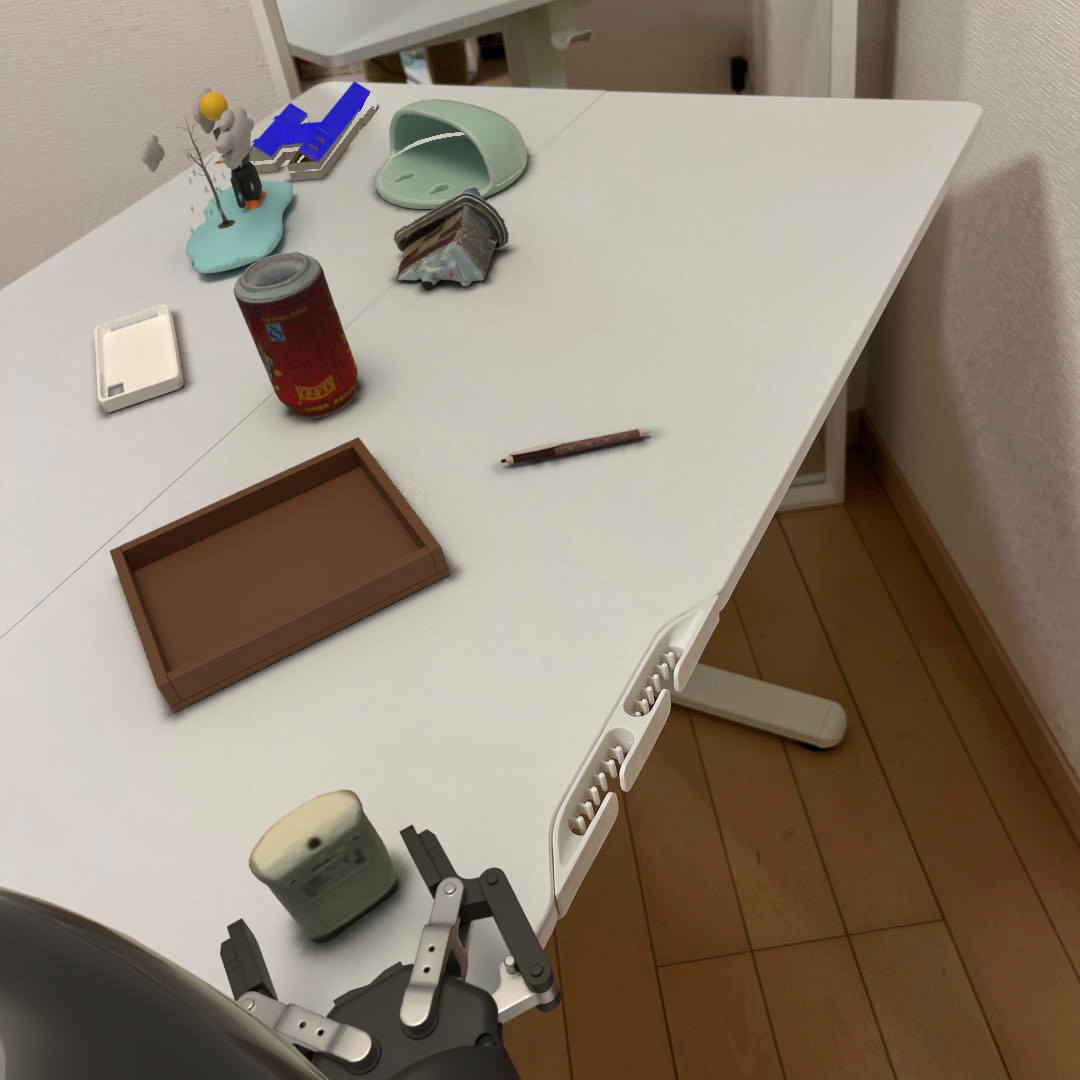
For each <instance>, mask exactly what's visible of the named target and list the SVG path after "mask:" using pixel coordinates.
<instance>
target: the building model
mask: <svg viewBox="0 0 1080 1080" xmlns="http://www.w3.org/2000/svg"><path fill="white" fill-rule="evenodd" d="M370 92H372V91H371V90H370V89H367V88H366V87H365V86H363V85H361V84H360V83H358V82H357V81H355V80H354V81H353V82H352V83H351V84H350V86H349V87H348V88H347V90H346V91H345V92H344V93H343V94H342V96H341V97H340V98H339V99H338V100H337V102H336V103H335V104H334V105H333V106H332V108H331V109H330V110H329V111H328V113H327V114H326V115H325V116H324V118H323V119H322V120H321V121H314V122H313V121H312V122H310V120H309V122H308V123H303V124H301V123H302V122H303V121H304V120H305V119H306V118H307V117H308V118H309V115H308V113H307V112H306V111H304V110H303V109H301V108H300V107H298V106H296V105H295V104H293V103H292V102H289V103H288V105H286V107H284V109H283V110H282V111H281V112H280V113H279V115H275V116H274V117H273V118H272V119H271V120H272V122H271V124H270V125H269V126H268V127H266V129H265V130H264V131H263V133H261V135H259V137H258V138H254V139H253V140H252V141H251V147H250V151H249V154H250V159H249V161H254V160H255V161H264V160H265V161H266V160H274V158H275V157H276V156H277V154H278V153H279V151H280V150H281V149H282V148H293V147H300V148H299V149H298V151H293V152H283V153H282V155H281V156H280V157H279V158H278V159H277V161H276V162H275V163H272V164H261V165H254V166H256V167H255V168H256V170H257V172H258V174H262V173H271V172H272V173H273V172H278V171H279V169H280V168H281V167H282V166H283V165H284V163H285V162H286V161H289V162H288V163H287V164H286V166H287V169H288V172H289V175H290V178H291V181H292V182H296V181H308V180H318V179H319V180H320V179H324V178H325V176H326V175H327V174H328V173H329V172H330V170H331V169H332V168H333V166H334V165H335V163H336V162H337V161H338V159H339V158H340V156H341V155H342V154H343V153H344V151H345V150H346V149H347V147H348V146H349V145H350V144H351V142H352V141H353V140H354V138H355V137H356V135H357V134H358V133H359V132H360V131H361V129H362V128H363V126H366V125H367V124H368V122H369V121H370V119H372V117H373V115H374V114H375V112H376V111H377V110H378V109H377V108H376V109H377V110H375V109H373V108H375V107H373V106H371V107H372V108H370V109H369V110H368V111H367V113H366V114H365V115H364V117H363V118H360V119H359V121H358V122H357V123H356V125H355V126H354V127H353V128H352V130H351V131H350V132H349V134H348V135H347V136H346V138H345V139H344V140H343V142H342V143H341V144H340V145H339V147H338V148H337V149H336V151H335V152H334V153H333V155H332V156H331V157H330V159H329V160H328V161H327V162H326V164H325V165H324V166H323V168H322V169H321V170H317V171H306V172H295V173H290V171H299V170H306V169H307V170H309V169H310V170H311V169H320V168H321V167H322V165H323V164H324V162H325V161H326V160H327V158H328V157H329V156H330V154H331V153H332V151H333V150H334V148H335V147H336V145H337V144H338V143H339V141H340V140H341V138H342V137H343V135H344V134H345V132H346V131H347V129H348V128H349V126H350V125H351V124H352V121H353V120H354V119H355V117H356V115H357V114H358V112H360V111H361V109H362V107H363V105H364V103H365V101H366V99H367V97H368V96H369V94H370ZM252 146H253V147H252ZM253 148H254V149H255V152H254V151H253ZM302 155H304V156H305V157H304V158H303V159H302V160H301V161H300V163H297V161H298V160H299V158H300V157H301V156H302Z"/></svg>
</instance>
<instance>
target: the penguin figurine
mask: <svg viewBox="0 0 1080 1080" xmlns="http://www.w3.org/2000/svg"><path fill="white" fill-rule="evenodd" d="M228 108H229V106H228V101H227V99H226V98H225V97H224V96H223V94H221V93H220V92H217V91H213V90H212V88H210V87H208V86H205V87H204V88H203V89H202V90H201V91H200V93H199V94H198V95H197V97H196V98H195V99H194V102H193V105H192V115H193V120H194V122H196V124H199V126H200V129H201V130H202V131H203V132H204V133H205V134H207V135H209V134H210V133H212V135H213V136H214V139H215V150H216V152H217V153H218V154H221V155H220V156H219V159H218V160H217V161H216V162H213V165H220V164H221V165H222V164H224V165H225V166H226V167H227V168H228V169H230V180H229V181H230V184H231V186H230V187H227V188H225V189H224V190H222V188H221V187H220V186H214V183H217V179H216V176H213V177H212V178H211V176H210V174H209V172H208V170H207V166H208V165H209V164H210V163H211V161H212V159H213V157H215V156H214V154H212V155H213V156H211V157H210V160H209V161H208V162H207V163H206V164H204V161H203V158H202V153H205V150H206V148H207V147H208V146H207V147H206V146H205V147H204V150H202V151H201V152H200V150H199V147H198V146H197V144H196V143H195V141H198V139H199V137H198V138H196V139H195V140H194V139H193V135H192V132H193V130H194V127H195V125H192V130H191V129H190V127H189V124H188V121H187V118H184V120H185V123H186V126H187V128H184V127H180V126H177V129H178V128H180V129H183V130H184V131H187V132H188V134H189V136H190V139H191V143H192V145H193V146H194V148H188V149H184V152H187V153H184V155H186V156H187V161H189V162H190V161H193V162H194V163H195V164H197V165H198V166H199V167H200V168H198V167H197V169H198V170H199V171H200V172H203V173H204V174H201V173H200V172H196V169H195V168H193V169H192V172H191V173H192V174H193V177H194V178H196V177H197V175H200V176H201V177H204V176H205V178H206V180H207V182H208V184H209V187H210V189H211V191H209V190H208V188H207V187H208V186H207V185H205V186H204V188H203V189H204V191H203V192H205V194H207V195H209V193H211V192H212V194H213V197H212V198H209V200H206V199H205V201H208V203H207V205H206V207H205V208H203V214H204V215H205V216H204V217H205V218H204V220H205V221H204V222H202V223H201V224H200V225H199V226H198V227H197V228H195V230H194V227H192V226H190V230H189V232H191V234H190V236H189V238H188V240H187V243H186V247H185V248H186V249H185V250H186V251H185V253H186V256H187V258H188V259H189V260H191V261H192V262H193V269H194V270H196V272H198V273H201V274H215V273H216V274H217V273H221V272H226V271H229V270H233V269H238V268H240V267H245V266H247V265H249V264H250V265H251V264H253V263H255V262H256V261H258V260H260V259H262V258H265V257H268V256H269V255H270V254H271V253H272V252H273V251H274V250H275V248H276V247H277V246H278V244H279V243H280V242H281V239H282V237H283V232H284V225H283V214H284V212H285V210H286V209H287V207H288V206H289V205H290V203H291V201H292V200H293V195H294V194H293V192H294V191H293V190H294V185H293V184H292V183H291V182H285V181H276V180H275V181H274V180H273V181H272V180H261V178H260V175H259V173H258V172H257V170H256V168H255V167H256V166H254V165H253V164H252V163H251V162H250V161H249V159H250V154H249V151H250V148H251V146H252V141H251V138H252V131H253V129H254V127H255V122H254V119H252V118H251V117H248V115H247V114H248V113H247V111H246V109H245V108H244V107H242V106H238V107H235V108H233V109H228ZM217 121H218V126H217V127H216V128H215V125H216V122H217ZM252 147H253V146H252ZM188 150H195V151H196V153H197V155H196V157H193V155H192V154H191V153H190V151H188ZM208 150H209V149H208ZM208 150H206V152H207V151H208ZM253 151H254V152H255V149H254V148H253ZM197 157H198V158H197ZM164 158H165V149H164V147H163V145H162V144H159V137H158V136H157V135H156V134H154V133H153V134H151V135H150V136H149V137H148V138H147V140H146V141H145V142H143V144H142V146H141V148H140V160H141V161H142V163H143V164H145V165H146V166H147V169H149V170H150V171H151V172H152V173H155V172H156V171H157V170H158V168H159V167H160V163H161V162H162V161H163V160H164ZM190 158H191V159H190ZM197 160H199V162H200V163H199V162H198V161H197ZM253 163H254V164H255V160H254V162H253ZM187 177H188V182H189V184H192V183H193V180H192V178H191V177H190V176H187ZM212 179H213V180H212ZM222 179H223V181H226V175H225V171H224V172H223V171H222ZM208 192H209V193H208ZM189 205H190V209H191V212H194V211H195V208H194V206H193V205H192V204H191V203H190V204H189Z"/></svg>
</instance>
